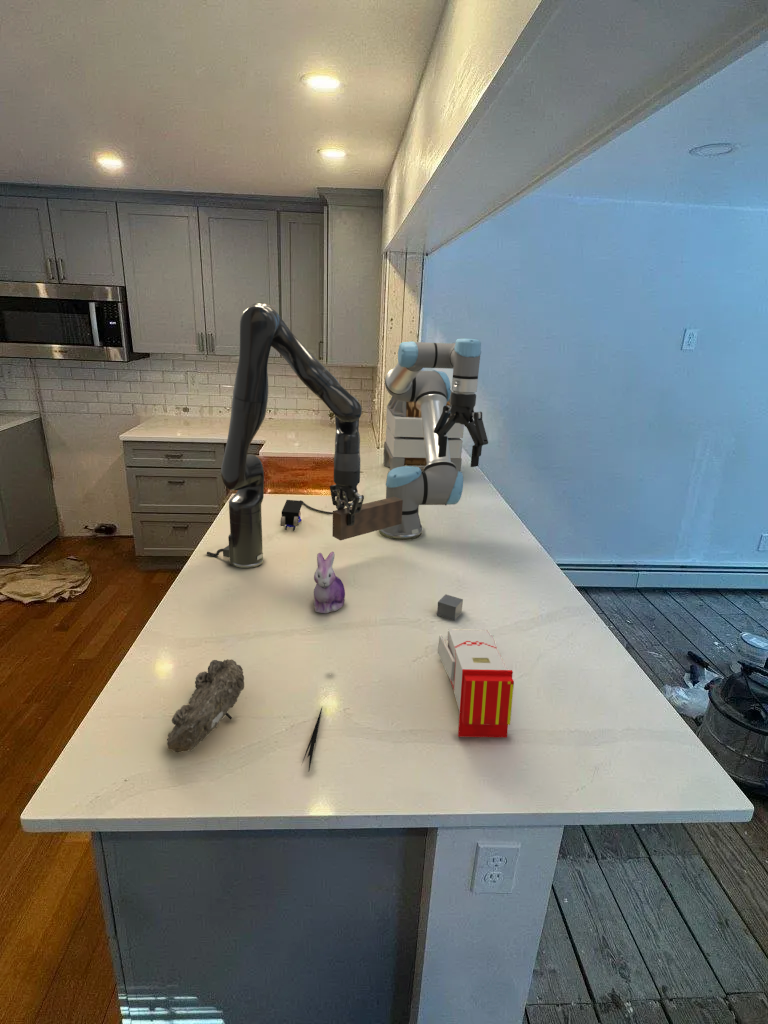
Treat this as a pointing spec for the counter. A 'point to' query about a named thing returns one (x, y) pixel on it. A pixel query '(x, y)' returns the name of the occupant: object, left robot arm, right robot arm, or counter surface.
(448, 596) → the slate block
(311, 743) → the feather
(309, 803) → the counter surface
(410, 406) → the white slatted crate
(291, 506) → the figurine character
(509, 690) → the toy
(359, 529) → the walnut bar
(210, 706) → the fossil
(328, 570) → the figurine
